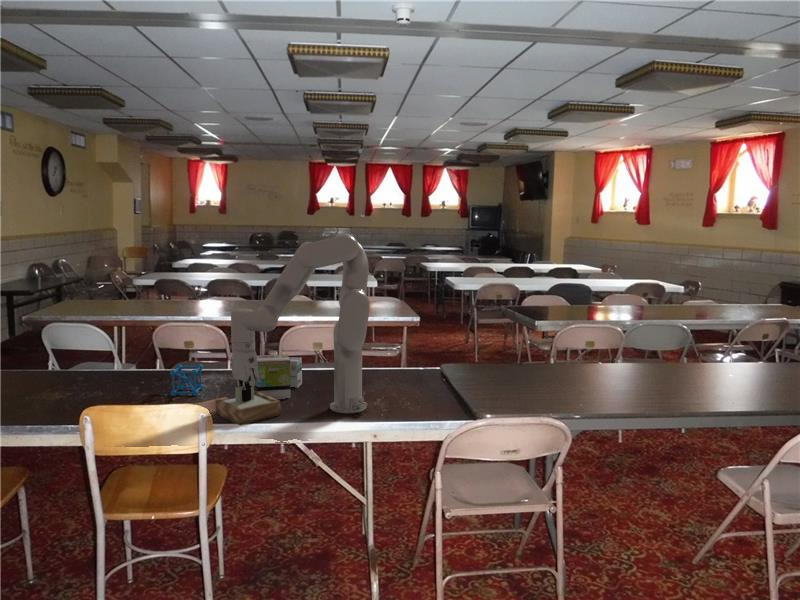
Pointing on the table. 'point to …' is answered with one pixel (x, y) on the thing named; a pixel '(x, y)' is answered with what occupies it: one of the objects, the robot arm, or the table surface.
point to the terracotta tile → (211, 404)
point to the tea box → (273, 376)
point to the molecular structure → (186, 380)
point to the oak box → (249, 410)
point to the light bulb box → (296, 372)
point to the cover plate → (240, 404)
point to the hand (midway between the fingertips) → (244, 399)
